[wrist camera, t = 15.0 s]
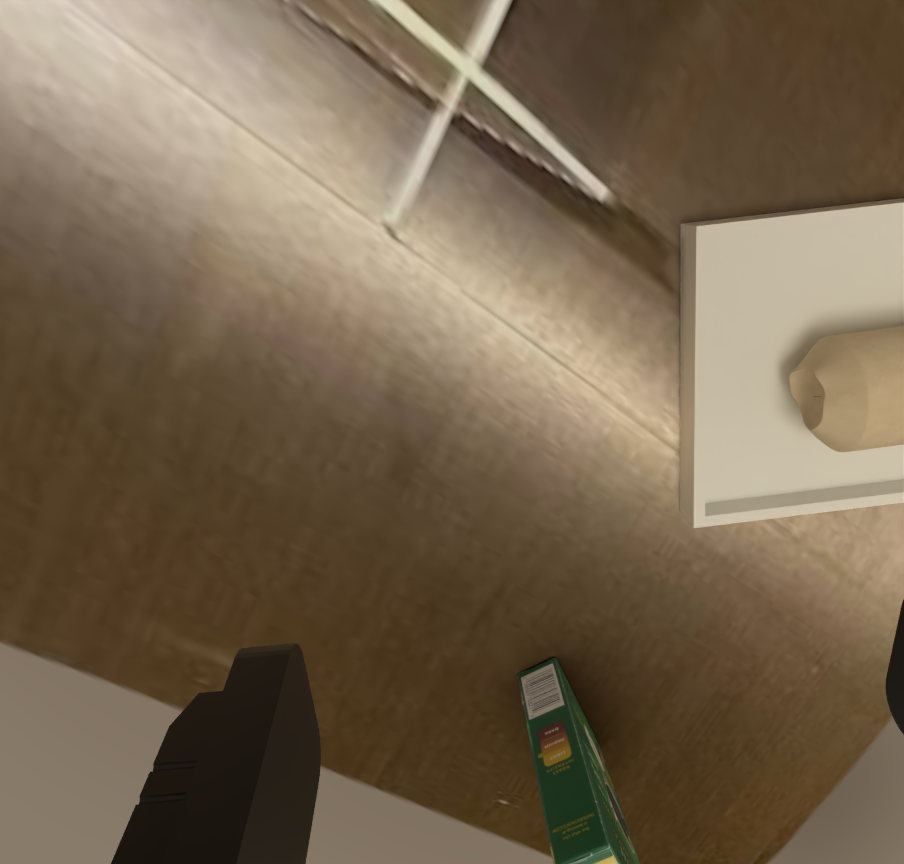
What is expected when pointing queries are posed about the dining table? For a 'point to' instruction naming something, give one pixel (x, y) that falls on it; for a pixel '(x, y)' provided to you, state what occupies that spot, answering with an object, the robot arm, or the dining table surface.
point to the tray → (779, 357)
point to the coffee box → (572, 774)
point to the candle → (853, 389)
